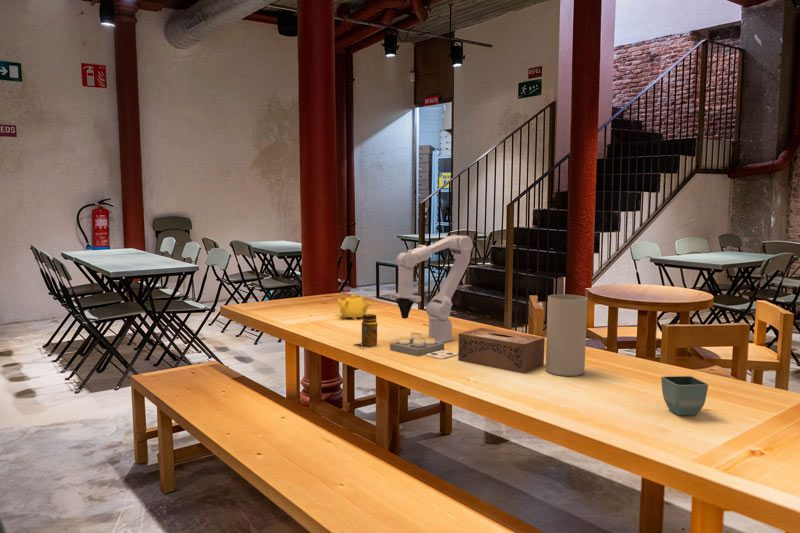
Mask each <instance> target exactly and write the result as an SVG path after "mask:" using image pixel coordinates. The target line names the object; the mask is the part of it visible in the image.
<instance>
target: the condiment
mask: <svg viewBox="0 0 800 533" xmlns="http://www.w3.org/2000/svg"><path fill="white" fill-rule="evenodd" d="M361 344H362V345H361ZM378 345H379V346H378ZM353 346H356V347H358V348H362V349H368V348H375V347H374V346H378V347H382V345H380V344H378V321H377V315H376V314H372V313H366V314H365V315H363V318H362V322H361V342H360V343H353Z"/></svg>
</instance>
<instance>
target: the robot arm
mask: <svg viewBox="0 0 800 533" xmlns="http://www.w3.org/2000/svg"><path fill="white" fill-rule="evenodd" d="M473 248H474V243H473V241H472V239H471V237H470V236H468V235H459V234H458V235H457V234H451V235H449V236H448V235H447V236H445V237H444V238H441V239H439V240H438V241H435V242H433V243H432V244H430V245H425V244H418V245H417V247H416V248H413V249H408V250H407V252H400V253H399V254H398V255H397V257H396V259H395V263H396V265H397V268H398V282H397V284H398V285H397V292H390V293H389V298H390V299H397V300H396V304H397V306H398V308H399V310H400V315H401V318H402V319H405V320H406V319H408V318H409V314H410V311H411V309H412V306H413V305H414V303H415V302H416V303H421V301H422V296H419V295H415V294H413V293H414V267H416V265H417V264H419V263H421V262H423V261H426V260H428V259H430V257H431V255H432V254H434V253H438V252H441V251H443V250H445V249H449V251H450V252H451V253H452V255H453V257H454V259H455V260H454V262H453V264H452V266H451V268H450V270H449V271H448V274H447V276H446V278H445V280H444V282H443V284H442V286H441V288H440V290H439V292H438V293H437V294H436V295H434V296H433V297H432V299H431V300H430V301H429V302H428V303H427V305H426V306H425V312H426V314H427V315H428V338H434V339H435V342H440V343H447V342H450V341H454V338H452V337H453V333H452V332H453V323H452V321H451V319H450V318H449V317H450V315H451V311H452V306H453V303H452V298H453V296H454V294H455V292H456V290H457V288H458V286H459V283H461V282H460V281H461V280H462V277H463V276H464V274H465V272H466V270H467V268H468V267H469V266H468V265H469V264H470V261H471V255H472V254H471V253H472V249H473Z"/></svg>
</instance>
